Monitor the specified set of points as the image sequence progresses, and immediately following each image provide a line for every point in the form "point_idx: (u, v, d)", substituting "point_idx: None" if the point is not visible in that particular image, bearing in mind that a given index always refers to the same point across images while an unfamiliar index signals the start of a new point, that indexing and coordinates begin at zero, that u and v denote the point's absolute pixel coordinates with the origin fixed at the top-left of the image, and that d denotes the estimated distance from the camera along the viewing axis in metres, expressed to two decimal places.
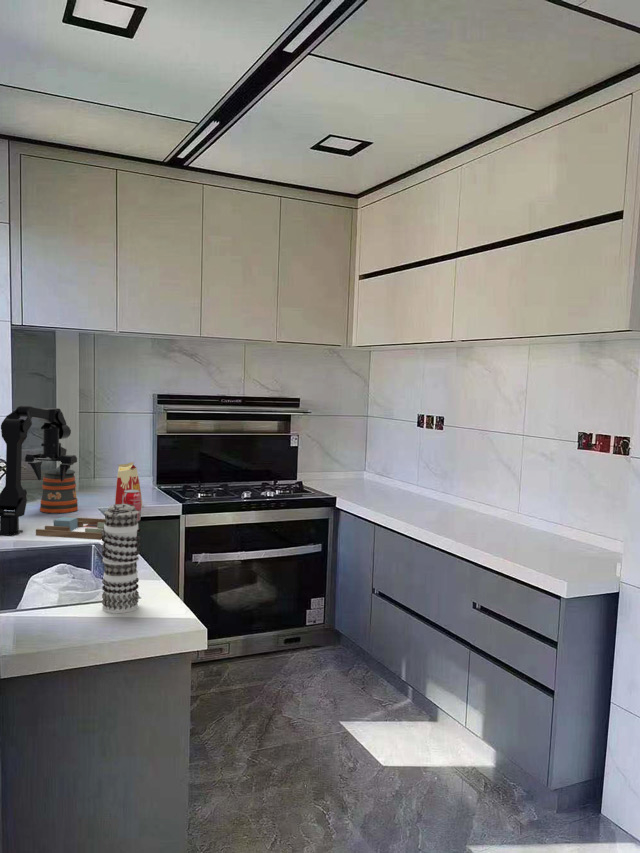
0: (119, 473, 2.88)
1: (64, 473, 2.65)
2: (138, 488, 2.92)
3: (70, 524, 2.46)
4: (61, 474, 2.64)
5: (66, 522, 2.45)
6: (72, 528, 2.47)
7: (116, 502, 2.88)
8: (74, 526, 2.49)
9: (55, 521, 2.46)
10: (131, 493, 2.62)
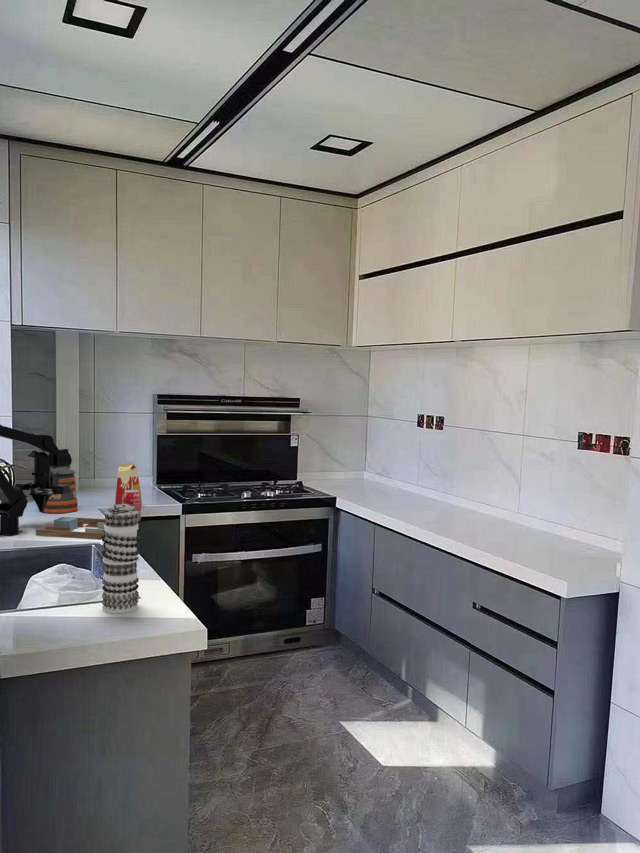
0: (119, 473, 2.88)
1: (44, 503, 2.48)
2: (138, 488, 2.92)
3: (70, 524, 2.46)
4: (41, 504, 2.47)
5: (66, 522, 2.45)
6: (72, 528, 2.47)
7: (116, 502, 2.88)
8: (74, 526, 2.49)
9: (55, 521, 2.46)
10: (131, 493, 2.62)
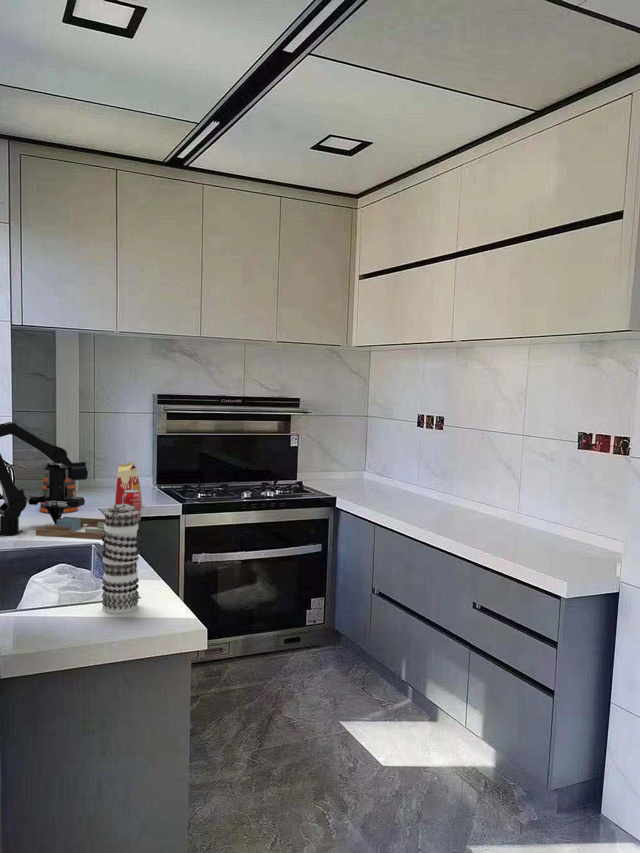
0: (119, 473, 2.88)
1: (59, 516, 2.48)
2: (138, 488, 2.92)
3: (73, 524, 2.46)
4: (56, 517, 2.47)
5: (69, 522, 2.45)
6: (75, 528, 2.47)
7: (116, 502, 2.88)
8: (77, 526, 2.49)
9: (58, 521, 2.46)
10: (131, 493, 2.62)
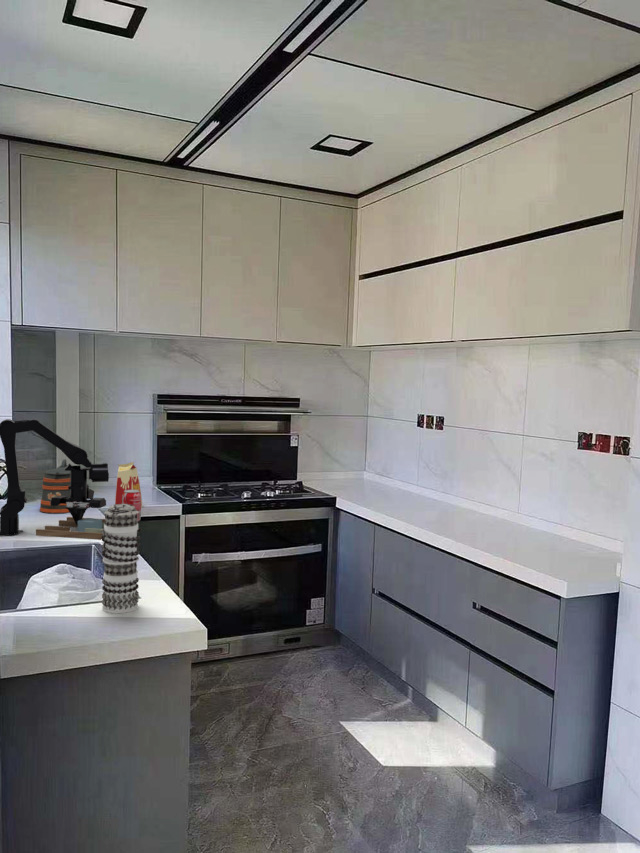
0: (119, 473, 2.88)
1: (81, 517, 2.47)
2: (138, 488, 2.92)
3: (93, 525, 2.44)
4: (78, 518, 2.46)
5: (89, 523, 2.43)
6: None
7: (116, 502, 2.88)
8: (98, 527, 2.47)
9: (79, 522, 2.44)
10: (131, 493, 2.62)
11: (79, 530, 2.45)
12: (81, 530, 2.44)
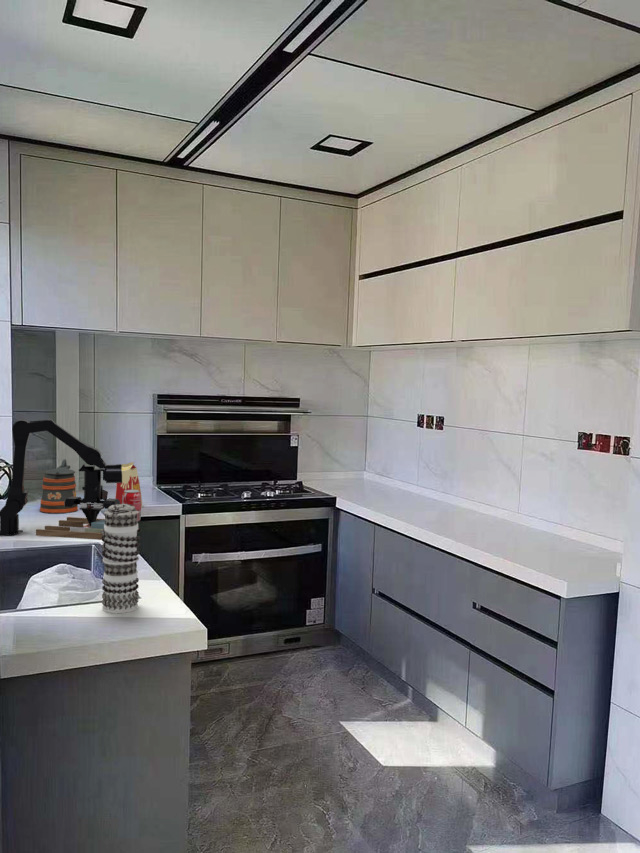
0: None
1: (95, 518, 2.47)
2: (138, 488, 2.92)
3: None
4: (92, 519, 2.45)
5: (103, 525, 2.43)
6: None
7: None
8: None
9: (93, 524, 2.44)
10: (131, 493, 2.62)
11: None
12: None
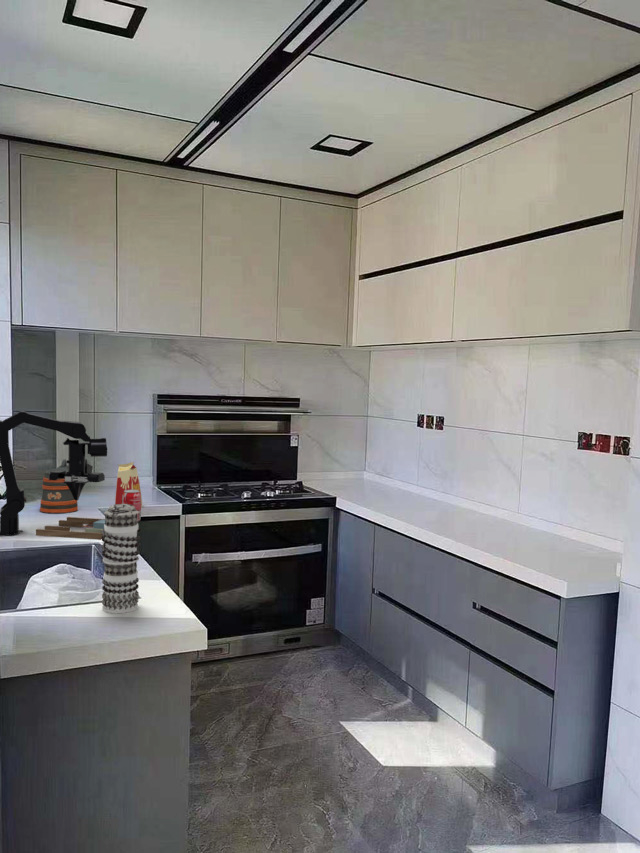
0: (119, 473, 2.88)
1: (79, 491, 2.47)
2: (138, 488, 2.92)
3: None
4: (76, 493, 2.46)
5: None
6: None
7: (116, 502, 2.88)
8: None
9: (95, 523, 2.44)
10: (131, 493, 2.62)
11: None
12: None
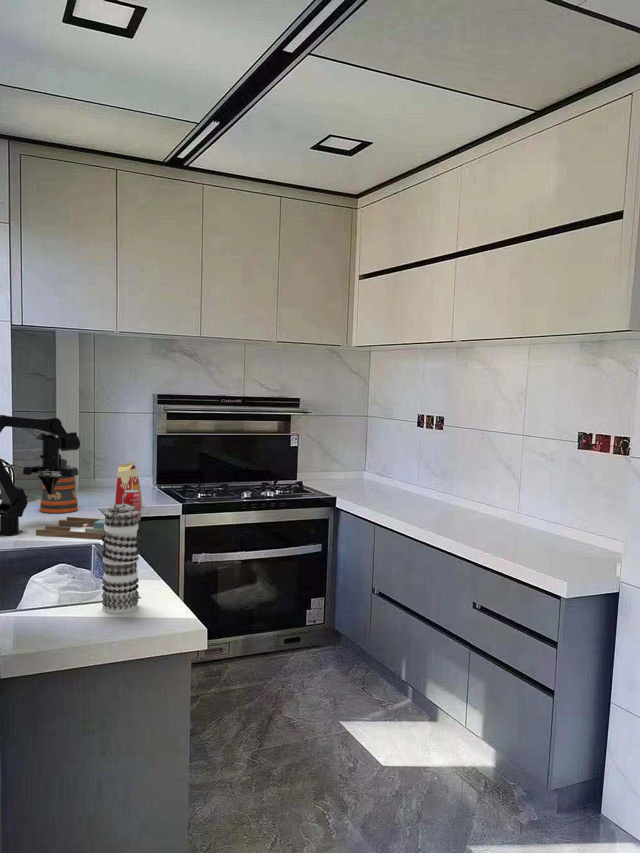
0: (119, 473, 2.88)
1: (53, 486, 2.50)
2: (138, 488, 2.92)
3: None
4: (50, 487, 2.49)
5: None
6: None
7: (116, 502, 2.88)
8: None
9: (95, 523, 2.44)
10: (131, 493, 2.62)
11: None
12: None
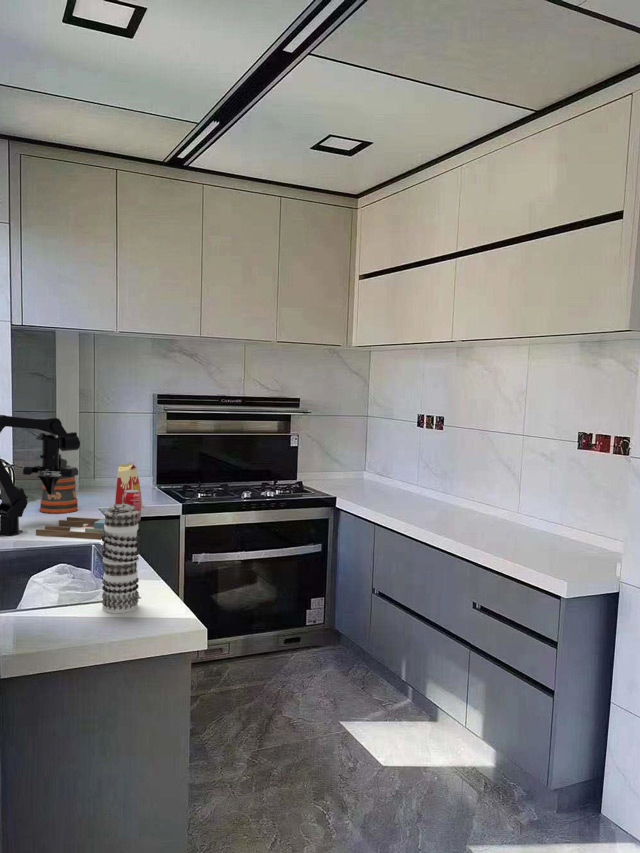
0: (119, 473, 2.88)
1: (53, 486, 2.50)
2: (138, 488, 2.92)
3: None
4: (50, 487, 2.49)
5: None
6: None
7: (116, 502, 2.88)
8: None
9: (95, 523, 2.44)
10: (131, 493, 2.62)
11: None
12: None
